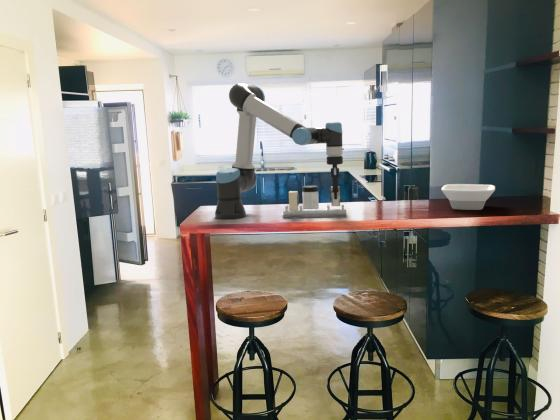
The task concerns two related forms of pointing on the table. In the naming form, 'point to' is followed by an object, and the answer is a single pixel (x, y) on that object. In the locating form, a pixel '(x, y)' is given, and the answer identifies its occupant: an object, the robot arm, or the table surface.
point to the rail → (309, 213)
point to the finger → (332, 195)
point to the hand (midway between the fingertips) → (335, 205)
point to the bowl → (468, 195)
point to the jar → (310, 197)
